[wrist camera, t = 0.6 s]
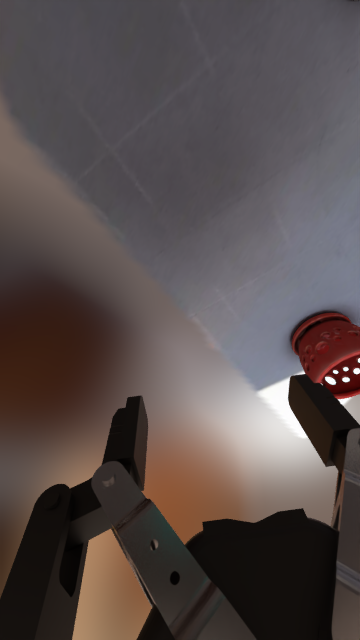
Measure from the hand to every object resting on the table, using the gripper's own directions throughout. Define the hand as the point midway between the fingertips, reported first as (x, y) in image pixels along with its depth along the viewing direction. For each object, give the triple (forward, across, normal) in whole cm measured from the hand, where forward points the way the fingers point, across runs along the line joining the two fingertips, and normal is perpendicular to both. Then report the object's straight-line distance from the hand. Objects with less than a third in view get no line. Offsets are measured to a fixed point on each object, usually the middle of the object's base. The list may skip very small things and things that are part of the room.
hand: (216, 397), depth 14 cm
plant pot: (+33, -26, +18) cm, 46 cm away
